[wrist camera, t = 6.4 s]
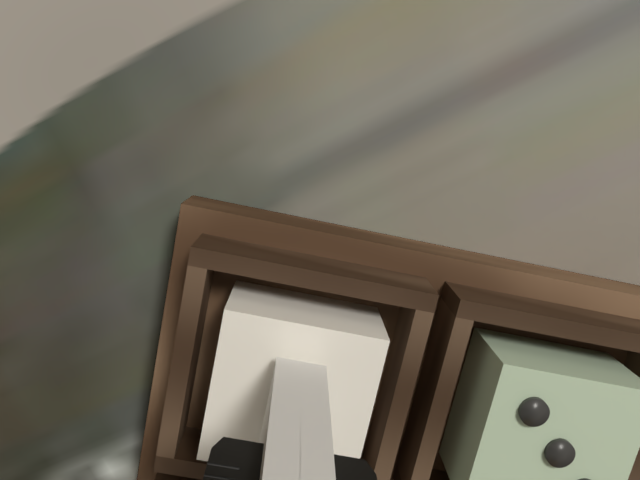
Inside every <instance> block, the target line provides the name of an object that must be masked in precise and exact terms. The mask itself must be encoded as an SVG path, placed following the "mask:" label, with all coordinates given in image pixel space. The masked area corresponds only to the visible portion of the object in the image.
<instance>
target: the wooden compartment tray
mask: <svg viewBox="0 0 640 480" xmlns="http://www.w3.org/2000/svg"><path fill="white" fill-rule="evenodd" d="M236 280H238V281H243V282H248V283H253V284H258V285H263V286H269V287H274V288H279V289H284V290H289V291H295V292H300V293H305V294H310V295H315V296H320V297H326V298H331V299H336V300H341V301H346V302H352V303H357V304H362V305H367V306H372V307H377V308H378V311H379V313H380V316H381V318H382V321H383V324H384V326H385V329H386V332H387V334H388V337H389V339H390V343H389V347H388V351H387V355H386V359H385V363H384V367H383V371H382V375H381V379H380V383H379V387H378V391H377V395H376V399H375V403H374V406H373V410H372V414H371V418H370V422H369V426H368V430H367V434H366V438H365V442H364V446H363V450H362V454H361V458H360V459H364V460H366V461H367V462H368V464H369V465H370V466H371V468H372V469H373V471H374V472H375V473H376V476H377V480H450V479H449V476H448V474H447V471H446V469H445V466H444V464H443V461H442V459H441V456H440V454H439V450H440V446H441V443H442V439H443V436H444V432H445V429H446V425H447V422H448V418H449V415H450V411H451V408H452V404H453V401H454V397H455V393H456V390H457V386H458V383H459V379H460V376H461V372H462V369H463V365H464V362H465V358H466V355H467V351H468V348H469V344H470V341H471V337H472V334H473V330H474V327H475V328H481V329H486V330H491V331H496V332H501V333H507V334H512V335H517V336H522V337H527V338H532V339H538V340H543V341H548V342H553V343H558V344H564V345H569V346H574V347H579V348H584V349H590V350H595V351H600V352H605V353H609V354H610V355H611V356H612V357H614V358H615V359H616V360H618V361H619V362H620V363H621V364H623V365H624V366H625V367H626V368H628V369H629V370H630V371H632V372H633V373H634V374H635V375H637V376H638V377H639V378H640V286H638V285H633V284H628V283H623V282H618V281H613V280H608V279H603V278H599V277H594V276H589V275H584V274H579V273H574V272H569V271H564V270H559V269H554V268H549V267H544V266H539V265H534V264H529V263H524V262H520V261H515V260H510V259H505V258H500V257H495V256H490V255H485V254H480V253H475V252H470V251H465V250H460V249H455V248H450V247H445V246H440V245H436V244H431V243H426V242H421V241H416V240H411V239H406V238H401V237H396V236H391V235H386V234H381V233H376V232H371V231H366V230H361V229H357V228H352V227H347V226H342V225H337V224H332V223H327V222H322V221H317V220H312V219H307V218H302V217H297V216H292V215H287V214H282V213H277V212H273V211H268V210H263V209H258V208H253V207H248V206H243V205H238V204H233V203H228V202H223V201H218V200H213V199H208V198H203V197H198V196H194V195H193V196H191V197H190V198H188V199H187V200H186V201H184V202H183V203H181V208H180V214H179V220H178V226H177V233H176V239H175V245H174V251H173V258H172V264H171V270H170V276H169V282H168V289H167V295H166V301H165V307H164V314H163V320H162V326H161V332H160V339H159V345H158V351H157V357H156V363H155V370H154V376H153V382H152V388H151V395H150V401H149V407H148V413H147V420H146V426H145V432H144V438H143V445H142V451H141V457H140V463H139V469H138V476H137V480H203V477H204V473H205V469H206V466H207V462H208V461H202V460H196V459H197V454H198V448H199V443H200V437H201V432H202V427H203V421H204V416H205V410H206V405H207V399H208V394H209V389H210V383H211V378H212V372H213V367H214V361H215V356H216V350H217V345H218V340H219V334H220V329H221V323H222V318H223V312H224V308H225V306H226V304H227V301H228V299H229V296H230V294H231V291H232V289H233V287H234V284H235V282H236ZM628 480H640V448H639V451H638V453H637V456H636V459H635V462H634V464H633V467H632V470H631V472H630V475H629V478H628Z"/></svg>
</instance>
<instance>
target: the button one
mask: <svg viewBox="0 0 640 480" xmlns="http://www.w3.org/2000/svg"><path fill="white" fill-rule="evenodd" d="M389 343H390V339H389V337H388V334H387V332H386V329H385V326H384V324H383V321H382V318H381V316H380V313H379V311H378V308H377V307H372V306H367V305H362V304H357V303H352V302H346V301H341V300H336V299H331V298H326V297H320V296H315V295H310V294H305V293H300V292H295V291H289V290H284V289H279V288H274V287H269V286H263V285H258V284H253V283H248V282H243V281H238V280H236V282H235V284H234V287H233V289H232V291H231V294H230V296H229V299H228V301H227V304H226V306H225V308H224V312H223V318H222V323H221V329H220V334H219V340H218V345H217V350H216V356H215V361H214V367H213V372H212V378H211V383H210V389H209V394H208V399H207V405H206V410H205V416H204V421H203V427H202V432H201V437H200V443H199V448H198V454H197V459H196V460H202V461H208V459H209V455H210V452H211V448H212V447H213V446H214V445H215V444H216V443H217V442H218V441H219V440H220V439H222V438H223V437H228V438H234V439H240V440H246V441H251V442H257V443H259V438H260V434H261V429H262V424H263V419H264V414H265V410H266V405H267V400H268V395H269V390H270V386H271V381H272V376H273V371H274V366H275V362H276V357H280V358H285V359H291V360H296V361H302V362H307V363H313V364H318V365H323V366H326V368H327V379H328V391H329V403H330V415H331V427H332V438H333V450H334V454H336V455H341V456H347V457H353V458H359V459H360V458H361V454H362V450H363V446H364V442H365V438H366V434H367V430H368V426H369V422H370V418H371V414H372V410H373V406H374V403H375V399H376V395H377V391H378V387H379V383H380V379H381V375H382V371H383V367H384V363H385V359H386V355H387V351H388V347H389Z"/></svg>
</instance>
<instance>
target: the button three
mask: <svg viewBox="0 0 640 480" xmlns="http://www.w3.org/2000/svg"><path fill="white" fill-rule="evenodd" d="M639 448H640V378H639V377H638V376H637V375H635V374H634V373H633V372H632V371H630V370H629V369H628V368H626V367H625V366H624V365H623V364H621V363H620V362H619V361H618V360H616V359H615V358H614V357H612V356H611V355H610V354H609V353H605V352H600V351H595V350H590V349H584V348H579V347H574V346H569V345H564V344H558V343H553V342H548V341H543V340H538V339H532V338H527V337H522V336H517V335H512V334H507V333H501V332H496V331H491V330H486V329H481V328H475V327H474V330H473V334H472V337H471V341H470V344H469V348H468V351H467V355H466V358H465V362H464V365H463V369H462V372H461V376H460V379H459V383H458V386H457V390H456V393H455V397H454V401H453V404H452V408H451V411H450V415H449V418H448V422H447V425H446V429H445V432H444V436H443V439H442V443H441V446H440V450H439V454H440V456H441V459H442V461H443V464H444V466H445V469H446V471H447V474H448V476H449V479H450V480H628V478H629V475H630V472H631V470H632V467H633V464H634V462H635V459H636V456H637V453H638V451H639Z"/></svg>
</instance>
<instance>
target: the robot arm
mask: <svg viewBox="0 0 640 480" xmlns="http://www.w3.org/2000/svg"><path fill="white" fill-rule="evenodd" d="M203 480H377V476H376V473H375V472H374V471H373V469H372V468H371V466H370V465H369V464H368V462H367V461H366V460H364V459H359V458H353V457H347V456H341V455H336V454H334V450H333V438H332V427H331V415H330V403H329V391H328V379H327V368H326V366H323V365H318V364H313V363H307V362H302V361H296V360H291V359H285V358H280V357H276V362H275V366H274V371H273V376H272V381H271V386H270V390H269V395H268V400H267V405H266V410H265V414H264V419H263V424H262V429H261V434H260V438H259V443H257V442H251V441H246V440H240V439H234V438H228V437H223V438H222V439H220V440H219V441H218V442H217V443H216V444H215V445H214V446H213V447H212V448H211V452H210V455H209V459H208V462H207V466H206V469H205V473H204V477H203Z"/></svg>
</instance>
